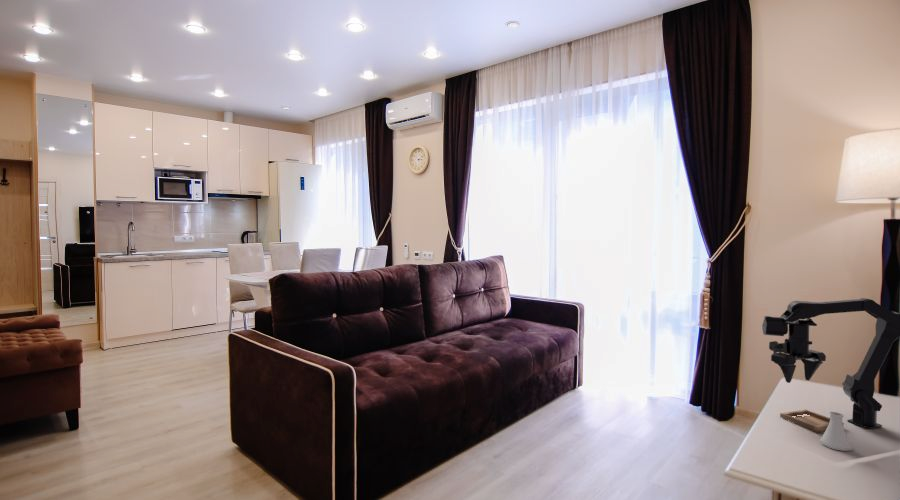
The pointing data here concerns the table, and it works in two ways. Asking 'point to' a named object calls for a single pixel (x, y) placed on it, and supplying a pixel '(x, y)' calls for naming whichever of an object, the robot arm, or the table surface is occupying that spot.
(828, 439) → the flask
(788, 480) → the table surface
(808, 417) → the tray
